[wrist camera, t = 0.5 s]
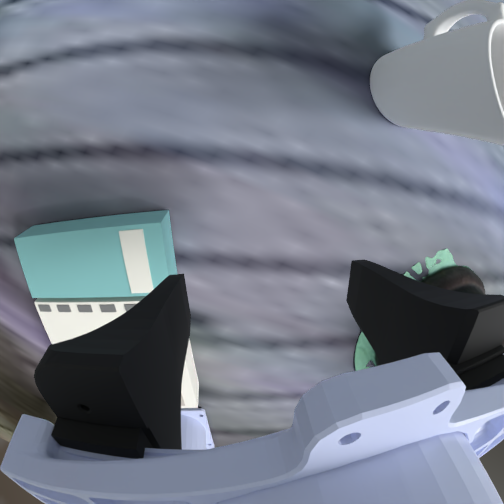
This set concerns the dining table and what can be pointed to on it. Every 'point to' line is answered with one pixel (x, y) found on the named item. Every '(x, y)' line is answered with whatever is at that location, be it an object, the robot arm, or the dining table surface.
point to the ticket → (96, 315)
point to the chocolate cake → (439, 276)
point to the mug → (448, 76)
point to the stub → (98, 256)
